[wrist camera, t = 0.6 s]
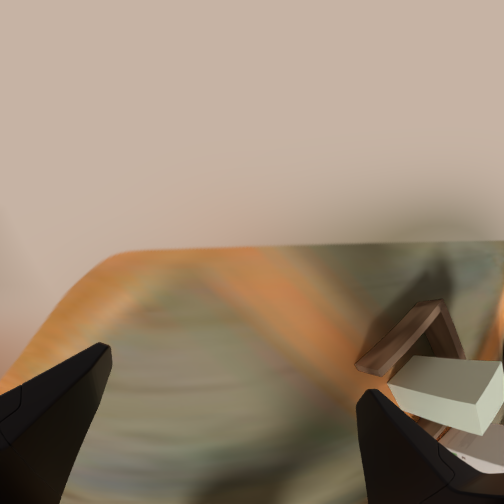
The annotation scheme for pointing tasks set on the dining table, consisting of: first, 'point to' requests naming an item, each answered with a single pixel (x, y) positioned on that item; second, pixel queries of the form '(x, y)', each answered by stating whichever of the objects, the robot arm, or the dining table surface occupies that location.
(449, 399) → the sage block
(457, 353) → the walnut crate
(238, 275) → the dining table surface
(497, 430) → the skincare box
